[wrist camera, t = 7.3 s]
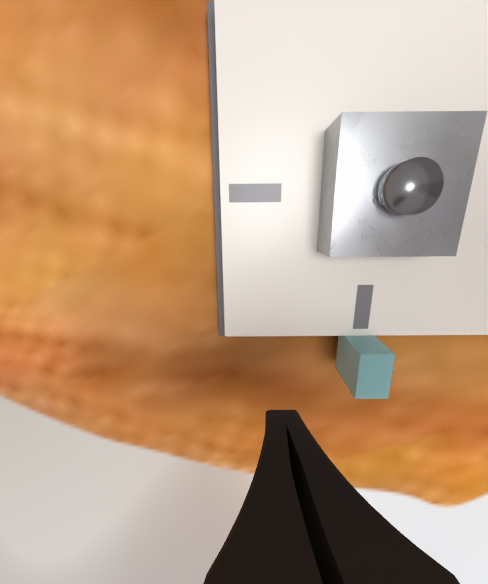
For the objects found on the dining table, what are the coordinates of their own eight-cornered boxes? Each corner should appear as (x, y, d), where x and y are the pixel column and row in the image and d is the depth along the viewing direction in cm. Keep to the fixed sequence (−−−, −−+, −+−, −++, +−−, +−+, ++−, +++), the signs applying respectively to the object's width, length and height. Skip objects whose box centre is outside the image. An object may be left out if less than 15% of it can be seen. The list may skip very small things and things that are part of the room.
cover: (445, 129, 14) (509, 100, 10) (423, 250, 16) (472, 258, 12) (325, 130, 14) (350, 102, 11) (316, 251, 16) (336, 260, 12)
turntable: (565, 5, 13) (675, -68, 10) (471, 366, 19) (520, 397, 16) (216, 10, 13) (206, -62, 10) (227, 367, 19) (223, 399, 16)
